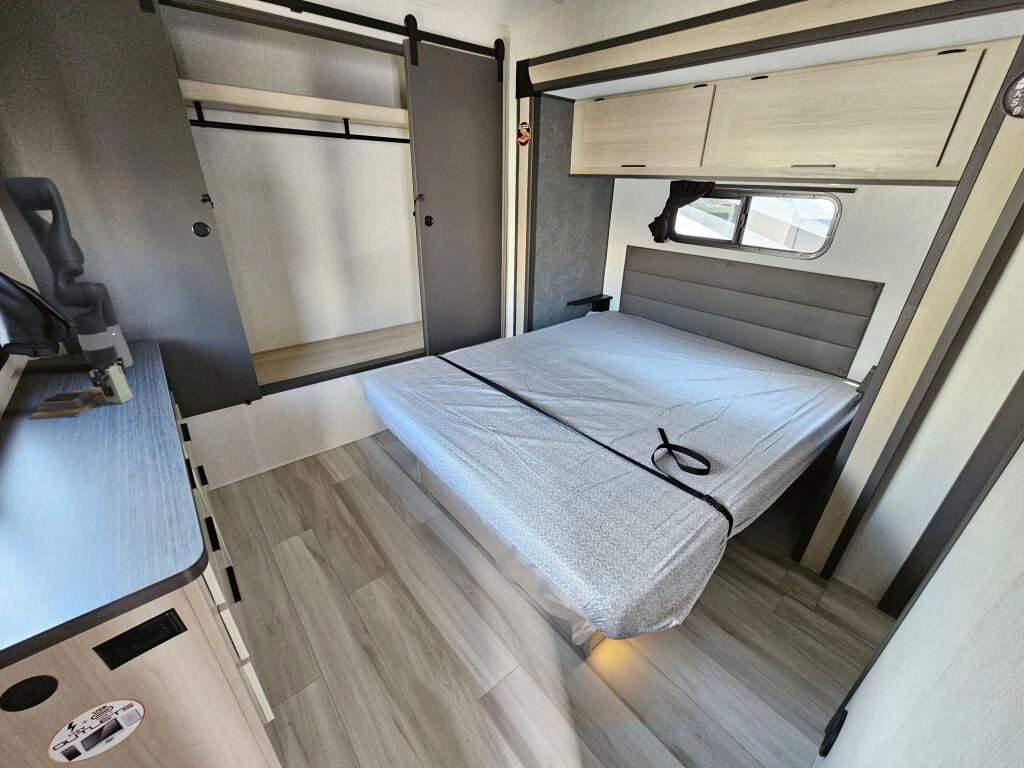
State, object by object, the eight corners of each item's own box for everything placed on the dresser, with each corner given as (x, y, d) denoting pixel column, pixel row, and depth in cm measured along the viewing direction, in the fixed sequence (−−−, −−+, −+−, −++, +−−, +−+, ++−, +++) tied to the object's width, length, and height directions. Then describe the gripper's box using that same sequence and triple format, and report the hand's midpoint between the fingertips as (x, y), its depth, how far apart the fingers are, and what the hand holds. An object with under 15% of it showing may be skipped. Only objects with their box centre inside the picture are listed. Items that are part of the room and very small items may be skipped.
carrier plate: (74, 393, 144) (70, 384, 143) (114, 392, 147) (111, 382, 145) (32, 418, 128) (26, 408, 127) (78, 416, 131) (73, 405, 129)
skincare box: (134, 398, 143) (122, 365, 138) (122, 404, 139) (109, 370, 134) (117, 396, 144) (104, 364, 139) (104, 402, 140) (91, 369, 135)
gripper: (99, 338, 139) (116, 384, 146) (67, 353, 127) (88, 402, 133) (125, 338, 141) (141, 383, 148) (96, 352, 128) (115, 401, 135)
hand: (115, 392), depth 141 cm, fingers open, 5 cm apart
